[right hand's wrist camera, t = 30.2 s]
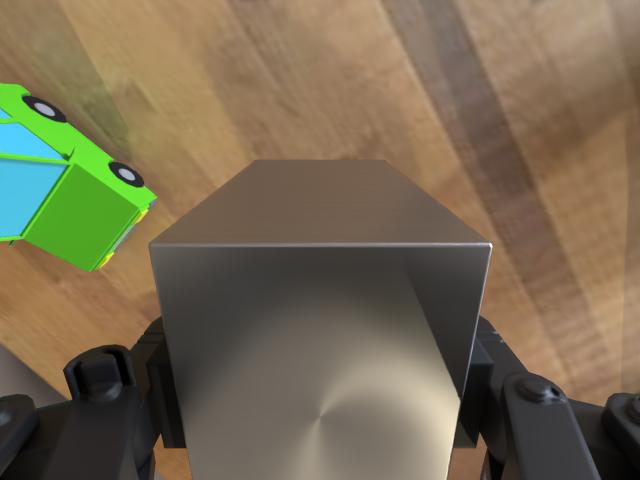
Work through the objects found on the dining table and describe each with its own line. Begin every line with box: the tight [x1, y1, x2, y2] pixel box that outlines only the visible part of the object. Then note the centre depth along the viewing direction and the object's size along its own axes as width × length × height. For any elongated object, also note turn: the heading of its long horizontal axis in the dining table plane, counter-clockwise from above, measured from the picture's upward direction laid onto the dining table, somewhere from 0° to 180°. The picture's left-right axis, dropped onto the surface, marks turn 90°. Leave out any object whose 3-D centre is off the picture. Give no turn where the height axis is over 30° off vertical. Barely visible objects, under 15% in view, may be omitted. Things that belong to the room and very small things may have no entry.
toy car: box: [0, 83, 157, 272], centre depth 26 cm, size 10×13×10 cm
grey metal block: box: [149, 160, 492, 480], centre depth 13 cm, size 6×9×12 cm
